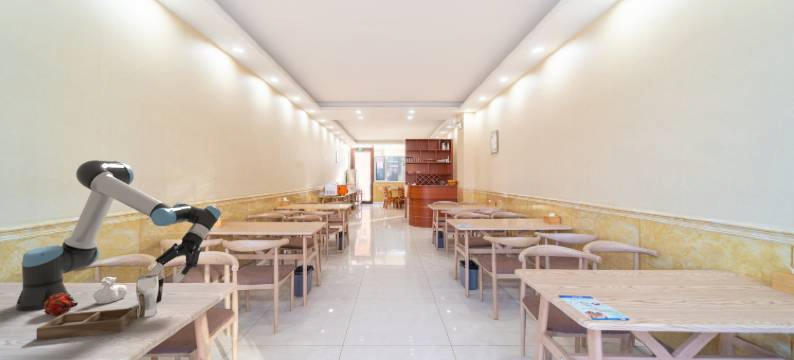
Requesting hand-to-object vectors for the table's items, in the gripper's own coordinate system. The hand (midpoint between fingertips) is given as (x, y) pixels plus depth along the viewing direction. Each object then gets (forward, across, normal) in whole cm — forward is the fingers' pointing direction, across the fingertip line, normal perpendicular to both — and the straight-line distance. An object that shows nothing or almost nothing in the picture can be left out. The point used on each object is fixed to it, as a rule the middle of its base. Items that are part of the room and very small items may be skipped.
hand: (163, 280), depth 133 cm
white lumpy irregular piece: (+8, +32, -9) cm, 34 cm away
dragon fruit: (+18, +36, +1) cm, 40 cm away
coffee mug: (+4, +13, -14) cm, 19 cm away
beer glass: (+13, +1, -5) cm, 13 cm away
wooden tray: (+22, +9, +6) cm, 25 cm away
